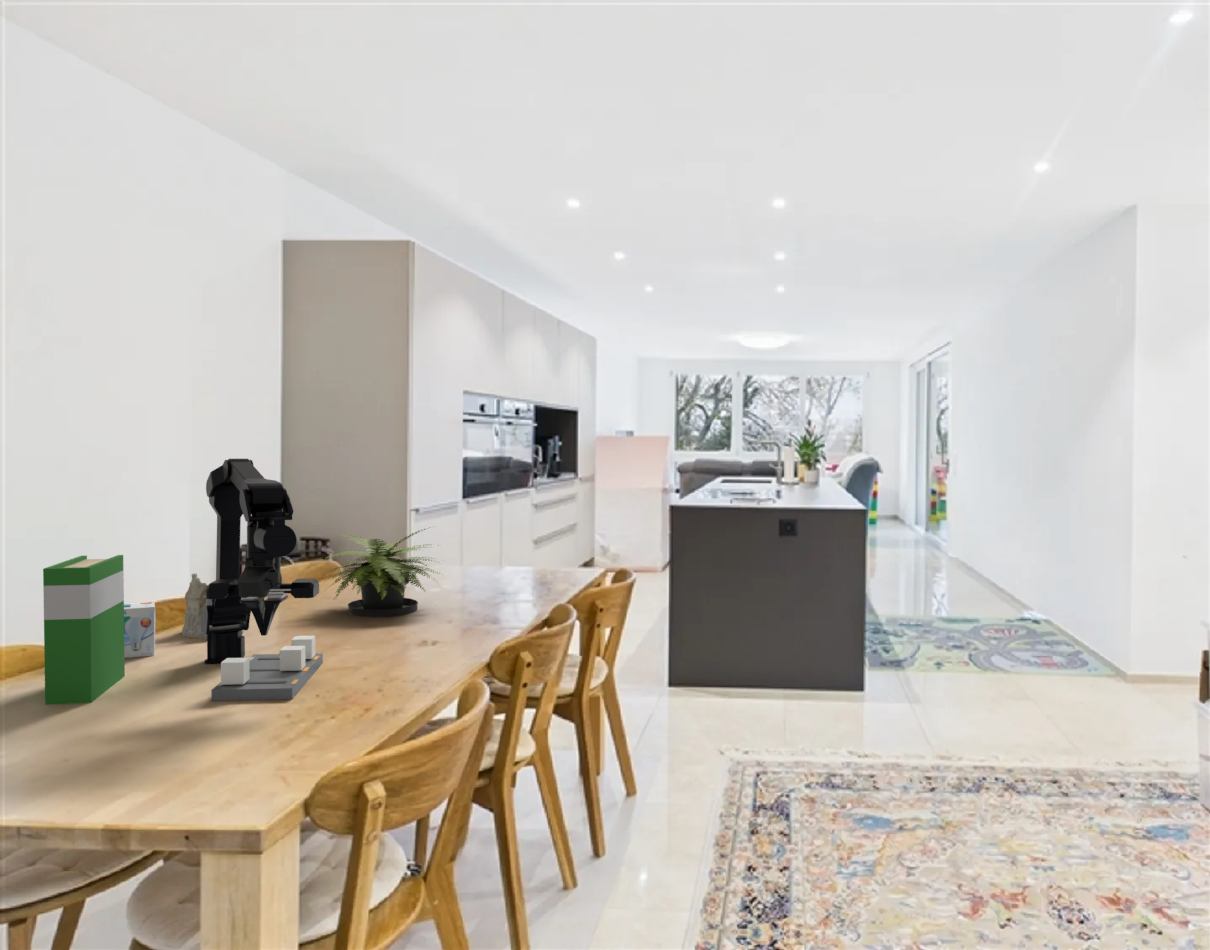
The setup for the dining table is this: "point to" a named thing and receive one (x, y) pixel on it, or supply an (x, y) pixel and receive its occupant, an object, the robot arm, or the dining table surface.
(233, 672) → the handle
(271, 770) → the dining table surface
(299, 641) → the handle far
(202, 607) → the grey rough lump
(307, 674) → the breaker panel
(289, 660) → the handle mid
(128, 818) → the dining table surface
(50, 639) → the hardback book
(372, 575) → the fern plant
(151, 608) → the light bulb box
